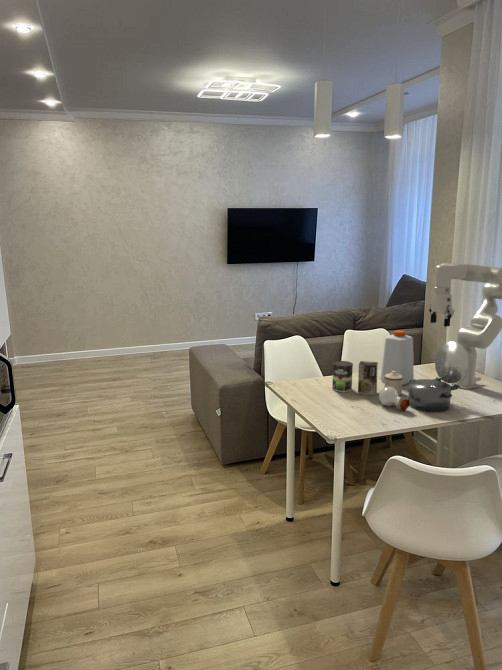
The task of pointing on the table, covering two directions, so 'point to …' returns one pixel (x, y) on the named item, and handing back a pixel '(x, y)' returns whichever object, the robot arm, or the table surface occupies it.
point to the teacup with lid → (394, 381)
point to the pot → (430, 395)
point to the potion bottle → (393, 398)
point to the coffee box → (367, 378)
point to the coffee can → (342, 376)
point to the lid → (451, 362)
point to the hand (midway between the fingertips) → (439, 324)
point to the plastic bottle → (398, 356)
